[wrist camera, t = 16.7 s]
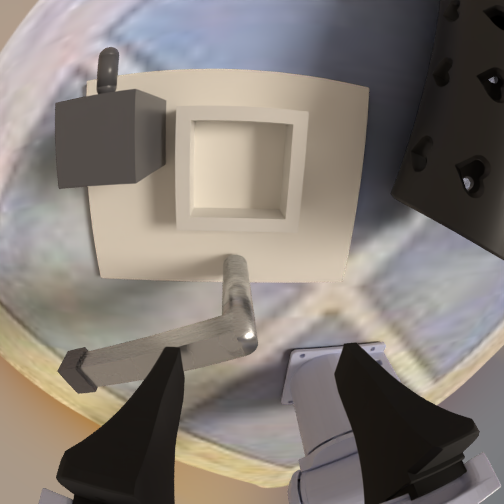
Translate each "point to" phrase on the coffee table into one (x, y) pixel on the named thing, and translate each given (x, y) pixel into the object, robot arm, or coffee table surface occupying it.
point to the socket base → (239, 179)
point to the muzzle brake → (461, 127)
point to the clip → (174, 341)
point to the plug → (109, 133)
